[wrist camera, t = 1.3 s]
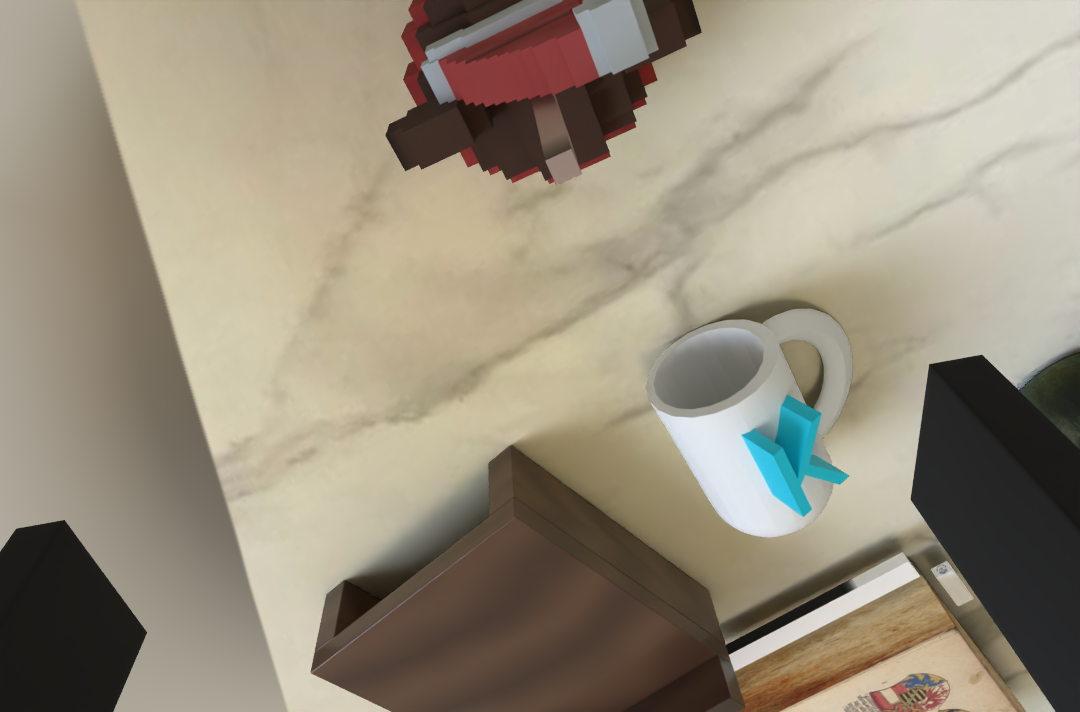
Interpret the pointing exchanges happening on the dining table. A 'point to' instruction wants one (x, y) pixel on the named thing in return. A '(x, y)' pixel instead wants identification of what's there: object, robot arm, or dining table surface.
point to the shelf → (533, 618)
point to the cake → (531, 80)
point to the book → (871, 651)
